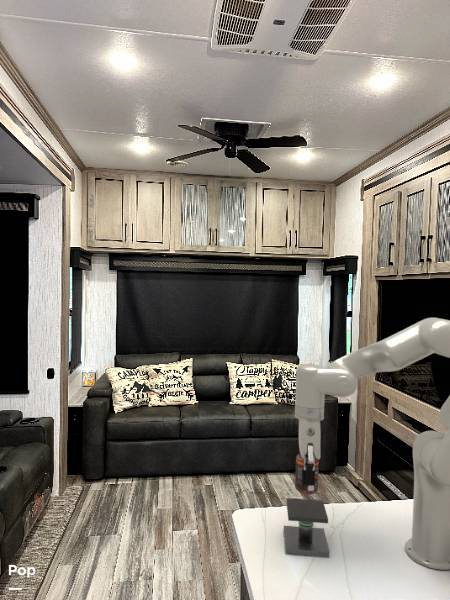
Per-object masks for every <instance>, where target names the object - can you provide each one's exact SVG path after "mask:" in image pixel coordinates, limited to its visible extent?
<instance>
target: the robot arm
mask: <svg viewBox="0 0 450 600" xmlns="http://www.w3.org/2000/svg"><path fill="white" fill-rule="evenodd" d="M432 354H433V355H434V354H437V355H439V356H443V357H445V358H449V359H450V320H449V319H444V318H439V317H427V318H424V319H422V320H420V321H418V322H416V323H414V324H412V325H410V326H408V327H406V328H404V329H403V330H400V331H397V332H396V333H394V334H392V335H390V336H388V337H386V338H383V339H382V340H380V341H376V342H374V343H371V344H369V345H367V346H364V347H362V348H358V349H357V350H354V351H352V352H349V353H347V354H346V355H344V356H341V357H339V358H337V359H336V360H333V361H332V362H330V363H329V364H328V365H327V366H326V367H325V368H324V367H323V365H320V364H315V363H304V364H303V363H302V364H300V365H298V366H297V368H296V374H295V377H296V378H295V397H294V398H295V401H294V417H295V418H296V419H298V447H299V449H298V450H299V454H301V457H302V458H303V469H302V485H310V486H314V485H315V457H316V459H318V460H319V461H320V459H321V438H322V437H321V436H322V435H321V421H323V420H324V419H325V416H324V415H325V414H324V413H325V397H326V395H327V396H328V395H329V396H332V397H337V398H347V397H350V396H351V395H353V394H355V392H356V390H357V388H358V380H360V379H362V378H364V377H367V376H370V375H372V374H376V373H381V372H383V373H387V372H389V373H390V372H398V371H400V370H402V369H404V368H406V367H409V366H410V365H412V364H414V363H416V362H419V361H420V360H423V359H424V358H426V357H428V356H430V355H432ZM438 421H439V422H440V424H441V426H442V428H444V429H445V430H446V433H445V434H443V433H442V432H439V431H436V430H426V431H423V432H421V433H420V434H418V436H417V437H415V440H414V442H413V446H412V461H413V462H412V463H413V478H414V479H413V505H412V528H411V530H412V531H411V532H412V533H411V538H409V539H408V540H406V541H405V544H404V545H405V546H404V549H405V552H406V554H407V555H408V557H409V558H411V559H412V560H413V561H415V562H416V563H418V564H420V565H421V566H424V567H426V568H430V569H435V570H439V571H447V570H448V571H449V570H450V395H449V396H448V397H447V399H446V400H445V402H444V403H443V404H442V406H441V408H440V410H439V413H438ZM305 455H308V457H305ZM306 460H308V462H307V463H306Z"/></svg>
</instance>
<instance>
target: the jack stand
mask: <svg viewBox="0 0 450 600" xmlns="http://www.w3.org/2000/svg"><path fill="white" fill-rule="evenodd" d="M285 502H286V503H285V504H286V511H287V512H286V513H287V520H288V522H290V521H291V522H298V526H294V525H283V539H284V541H283V542H284V552H285V555H287V556H298V557H299V556H303V557H314V558H326V559H327V558H328V559H330V553H331V552H330V548H329V544H328V540H327V536H326V533H325V528H324V527H322V528H321V527H319V528H318V527H314V524H315V523H317V524H329V517H328V513H327V510H326V506H325V502H324V500H320V499H319V500H318V499H317V500H316V499H304V498H303V499H301V498H286V501H285Z"/></svg>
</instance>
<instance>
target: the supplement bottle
mask: <svg viewBox="0 0 450 600" xmlns="http://www.w3.org/2000/svg"><path fill="white" fill-rule="evenodd" d="M305 457H308V455H305ZM307 462H308V460H306V463H307ZM319 463H320V459H319V460H318V459H316V457H315V485H314V486H310V485H302V469H303V458H302V457H301V454H300V453H298V454H297V455H296V458H295V478H294V479H295V480H294V482H295V483H294V485H295V487H294V488H295V490H296V491H297V492H299V493H301V494H305V495H313V494H315V493H317V492H318V488H319V469H320V467H319V466H320V465H319Z"/></svg>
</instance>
